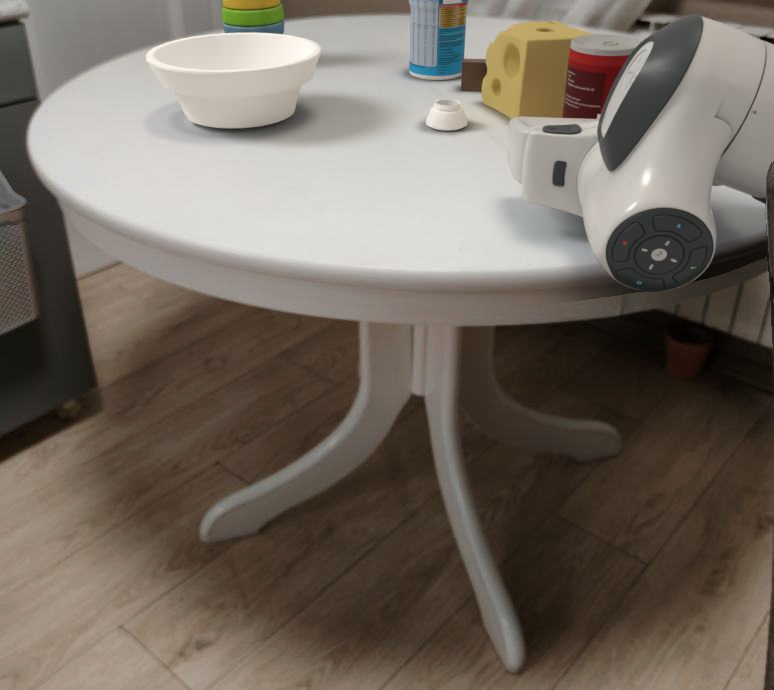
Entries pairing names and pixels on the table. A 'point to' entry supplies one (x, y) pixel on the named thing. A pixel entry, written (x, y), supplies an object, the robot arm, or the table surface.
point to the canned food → (593, 72)
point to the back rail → (473, 74)
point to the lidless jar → (446, 115)
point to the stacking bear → (253, 16)
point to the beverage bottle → (437, 38)
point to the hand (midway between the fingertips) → (610, 122)
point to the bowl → (236, 76)
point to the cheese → (529, 69)
